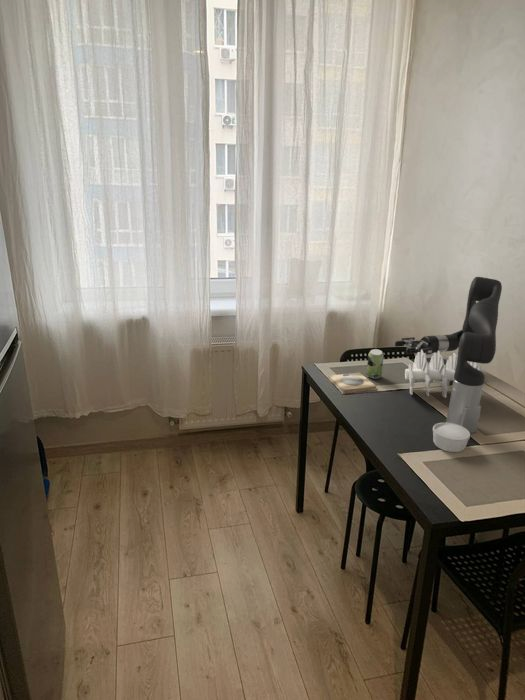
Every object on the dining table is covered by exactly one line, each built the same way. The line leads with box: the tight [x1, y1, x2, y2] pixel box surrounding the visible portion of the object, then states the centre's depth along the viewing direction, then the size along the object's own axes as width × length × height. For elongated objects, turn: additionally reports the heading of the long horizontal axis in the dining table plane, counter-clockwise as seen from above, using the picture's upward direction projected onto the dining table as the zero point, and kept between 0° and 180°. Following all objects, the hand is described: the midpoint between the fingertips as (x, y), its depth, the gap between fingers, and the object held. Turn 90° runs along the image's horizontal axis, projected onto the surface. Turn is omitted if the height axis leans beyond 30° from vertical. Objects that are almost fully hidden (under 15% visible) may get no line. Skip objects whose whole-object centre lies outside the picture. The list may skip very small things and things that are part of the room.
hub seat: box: [328, 372, 377, 394], centre depth 203 cm, size 14×14×2 cm
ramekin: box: [432, 422, 471, 453], centre depth 161 cm, size 11×11×5 cm
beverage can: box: [366, 348, 384, 380], centre depth 208 cm, size 6×7×12 cm
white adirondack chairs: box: [404, 350, 481, 398], centre depth 193 cm, size 18×18×25 cm
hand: (400, 347), depth 210 cm, fingers open, 8 cm apart
